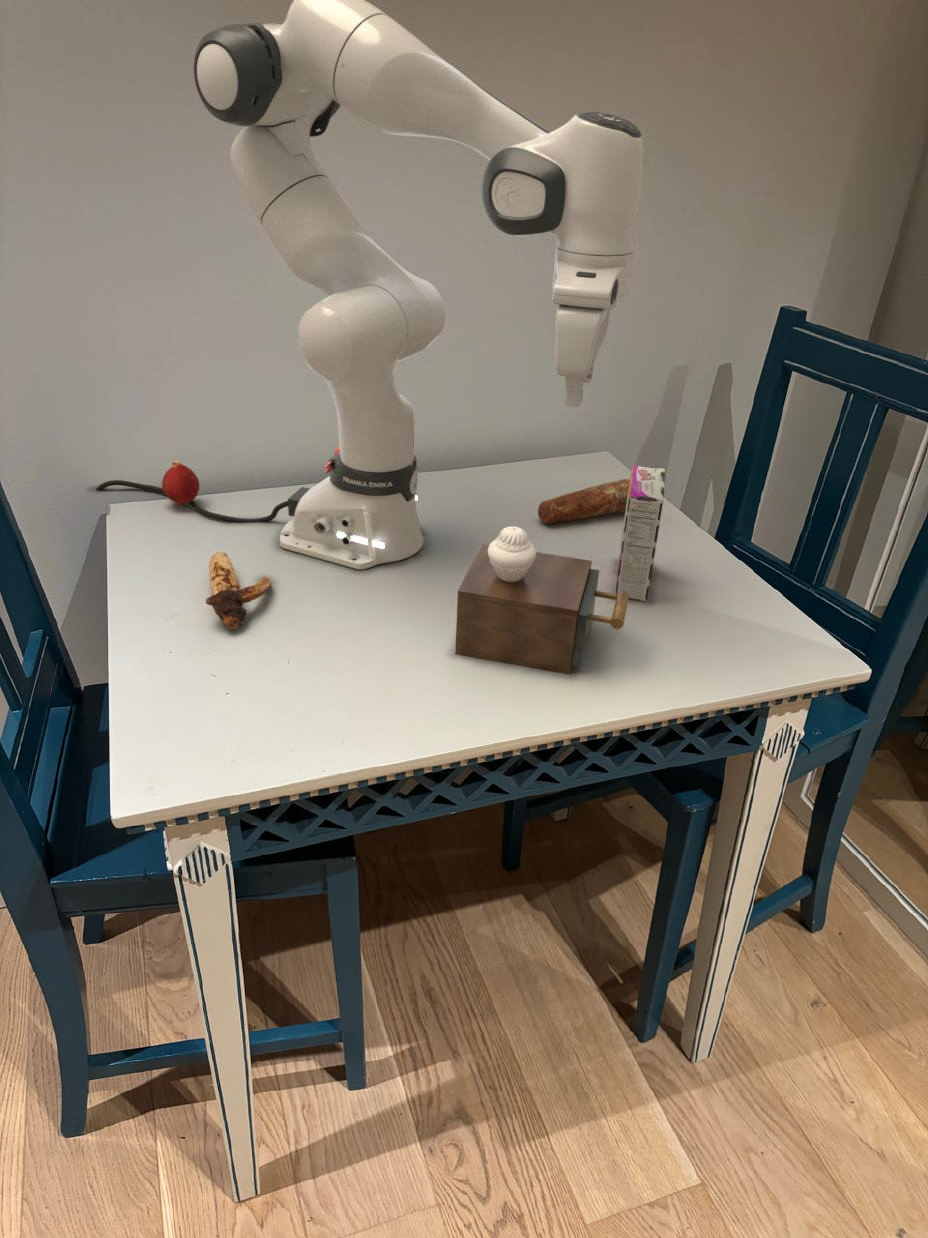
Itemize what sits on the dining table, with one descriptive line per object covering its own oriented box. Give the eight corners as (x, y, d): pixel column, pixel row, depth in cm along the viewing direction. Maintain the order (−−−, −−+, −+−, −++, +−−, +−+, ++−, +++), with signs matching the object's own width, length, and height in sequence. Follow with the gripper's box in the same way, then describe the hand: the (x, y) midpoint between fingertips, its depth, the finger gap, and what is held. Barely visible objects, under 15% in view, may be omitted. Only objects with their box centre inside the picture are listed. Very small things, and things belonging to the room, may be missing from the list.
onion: (186, 495, 153) (180, 451, 148) (209, 504, 150) (203, 460, 146) (158, 506, 149) (151, 461, 144) (181, 516, 146) (174, 470, 142)
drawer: (624, 624, 122) (632, 575, 118) (615, 673, 112) (623, 621, 108) (493, 602, 125) (497, 553, 121) (473, 648, 116) (476, 597, 111)
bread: (644, 514, 153) (649, 484, 150) (545, 530, 147) (548, 499, 144) (625, 499, 158) (629, 470, 155) (528, 514, 151) (531, 484, 148)
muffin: (500, 559, 118) (503, 511, 114) (542, 572, 115) (546, 524, 112) (477, 579, 113) (480, 530, 110) (519, 593, 111) (524, 543, 107)
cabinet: (583, 620, 124) (591, 560, 119) (569, 674, 113) (578, 610, 108) (478, 603, 127) (481, 543, 122) (455, 653, 116) (457, 590, 111)
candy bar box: (617, 562, 139) (632, 463, 130) (649, 566, 138) (666, 467, 129) (612, 598, 129) (628, 495, 120) (647, 603, 129) (665, 499, 120)
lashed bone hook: (281, 630, 120) (264, 563, 134) (280, 600, 117) (263, 536, 131) (210, 638, 117) (200, 569, 131) (207, 608, 114) (197, 541, 129)
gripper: (577, 256, 112) (566, 365, 119) (550, 291, 95) (539, 415, 103) (627, 260, 111) (613, 370, 118) (609, 296, 94) (593, 422, 101)
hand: (578, 392), depth 110 cm, fingers open, 8 cm apart
